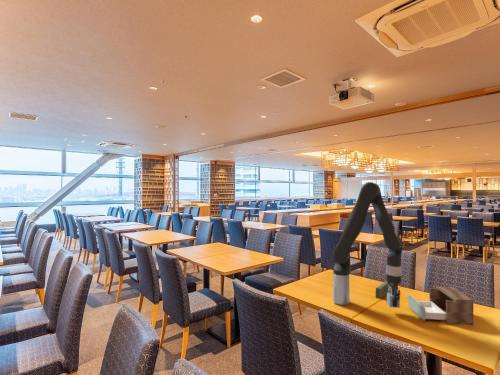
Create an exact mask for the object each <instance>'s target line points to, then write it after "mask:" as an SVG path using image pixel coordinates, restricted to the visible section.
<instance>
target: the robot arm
mask: <svg viewBox="0 0 500 375" xmlns="http://www.w3.org/2000/svg"><path fill="white" fill-rule="evenodd" d="M371 205H372V208H373V210H374V215H375V219H376V221H377V225H378V226H379V229H380V231H381V232H382V237H383V242H384V244H385V247H386V248H387V249H388V253H387V257H386V268H385V270H386V271H385V277H386V278H385V282H386V281H387V287H388V292H387V293H391V295H392V296H393V307H392V308H395V307H397V300H399V298H400V299H401V290H400V289H399V286H398V285H400V284H401V283H402V253H403V246H404V245H403V244H404V243H403V240H402V239H401V238H400V237H399V236H397V235H396V229H395V225H394V223H393V221H392V219H391V217H390V214H389V212H388V210H387V207H386V206H385V203H384V200H383V196H382V193H381V189H380V186H379V185H378V184H377V183H375V182H371V181H369V182H368V181H367V182H364V184H362V185H361V188H360V190H359V193H358V198H357V199H356V202H355V205H354V206H353V208H352V209H351V210H352V211H351V212H350V214H349V216H348V218H347V221H346V223H345V225H344V228H343V231H342V233H341V237H340V238H339V241H338V242H337V245H336V246H335V248H334V249H333V251H332V253H331V255H332V256H331V257H332V260H333V261H334V265H333V268H332V270H333V272H332V273H333V275H332V276H333V284H332V300H333V304H335V305H339V306H340V305H341V306H346V305H347V306H348V305H350V303H351V300H350V293H351V292H350V271H351V252H350V250H351V248H352V246H353V245H354V243H355V241H356V240H357V238H358V236H359V235H360V234H361V233H362V229H363V227H364V225H365V223H366V220H367V218H368V211H369V208H370V206H371ZM393 293H394V294H393Z"/></svg>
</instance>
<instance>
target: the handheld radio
mask: <svg viewBox="0 0 500 375" xmlns="http://www.w3.org/2000/svg"><path fill="white" fill-rule="evenodd" d="M387 293H388V287H387V281H386V280H385V281H384V282H383V283H380V285H377V287H375V294H374V295H375V297H376V299H381V298H382V297H383V296H385V295H387ZM380 297H381V298H380Z"/></svg>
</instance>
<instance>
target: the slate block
mask: <svg viewBox="0 0 500 375" xmlns="http://www.w3.org/2000/svg"><path fill="white" fill-rule="evenodd" d="M393 294H394V293H393ZM400 299H401V297H400V298H399V300H397V307H393V296H392V295H391V293H388V292H387V293H386V304H387V306H388V307H389V308H398V309H401V308H400V307H401V306H400V304H401V303H400V302H401V300H400Z"/></svg>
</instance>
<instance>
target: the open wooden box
mask: <svg viewBox="0 0 500 375" xmlns="http://www.w3.org/2000/svg"><path fill="white" fill-rule="evenodd" d="M429 301H431V302H433V303H434V304H435V305H436V306H438V307H439V308H440V309H441V310H443V311H444V312H445V313H446V320H442V321H443V322H445V324H447V325H460V326H461V325H463V326H474V324H475V323H474V318H475V317H474V300H473V299H472V298H471V297H469V296H468V295H466V294H465V293H463V292H462V291H459V290H458V289H457V288H454V287H453V286H436V288H432V287H429Z"/></svg>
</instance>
